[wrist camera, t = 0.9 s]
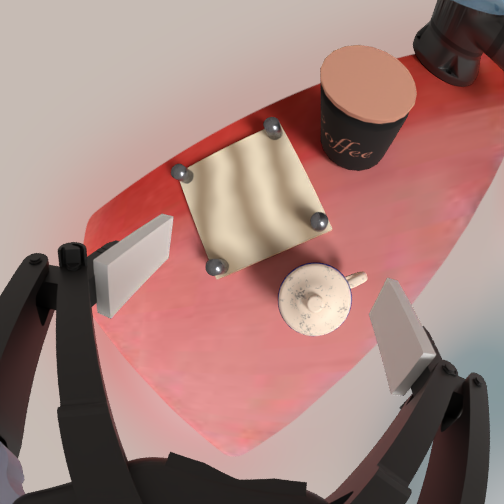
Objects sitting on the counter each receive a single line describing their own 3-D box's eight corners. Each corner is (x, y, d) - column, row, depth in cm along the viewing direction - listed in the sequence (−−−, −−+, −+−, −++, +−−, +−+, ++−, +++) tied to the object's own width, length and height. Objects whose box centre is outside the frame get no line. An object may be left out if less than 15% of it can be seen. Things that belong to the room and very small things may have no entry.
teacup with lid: (297, 329, 42) (291, 354, 30) (276, 275, 43) (261, 281, 31) (370, 300, 39) (389, 315, 28) (349, 244, 40) (361, 239, 29)
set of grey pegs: (278, 124, 41) (275, 114, 38) (329, 228, 40) (331, 225, 36) (179, 174, 45) (169, 168, 42) (217, 276, 43) (209, 278, 40)
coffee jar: (306, 138, 42) (298, 72, 24) (352, 103, 40) (363, 33, 23) (352, 186, 40) (374, 140, 23) (396, 148, 39) (434, 91, 21)
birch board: (280, 126, 43) (279, 122, 41) (331, 230, 41) (332, 229, 39) (181, 175, 47) (177, 173, 45) (219, 278, 45) (216, 279, 43)
